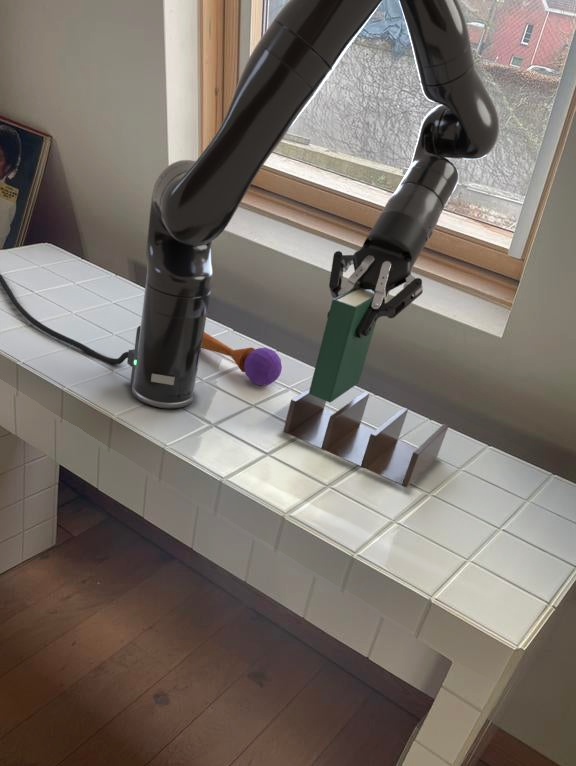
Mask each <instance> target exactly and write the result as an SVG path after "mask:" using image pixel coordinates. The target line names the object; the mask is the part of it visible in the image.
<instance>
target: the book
mask: <svg viewBox="0 0 576 766" xmlns="http://www.w3.org/2000/svg"><path fill="white" fill-rule="evenodd" d="M359 288H360V289H353V290H351V291H348V292H346V293H344V294H342V295H340V296H338V297H336V298H332V300H331V304H330V308H329V310H330V312H329V311H328V312H329V316H328V318H326V319H327V320H326V322H325V323H326V324H325V328H324V332H323V336H322V338H321V339H322V340H321V343H320V348H319V351H318V355H317V358H316V364H315V367H314V371H313V375H312V378H311V383H310V387H309V388H310V390H309V394H311V395H313V396H315V397H318V398H320V399H323V400H325V401H326V403H332V402H333V401H335V400H337V399H338V398H339V397H341V396H342V395H344V394H345V393H347V392H348V391H349V390H351V389H352V388H354V387H355V386H357V385H359V382H360V379H361V375H362V372H363V369H364V364H365V361H366V358H367V356H368V352H369V348H370V346H371V345H370V344H371V341H372V338H373V335H374V332H375V328H376V324H377V322H376V323H375V324H374V326H373V328H372V330H371V331H370V333H369V334H368V335H367V336H363V338H362V339H360V338H357V337H356V333H355V331H356V328H357V326H358V325H359V323H360V321H361V319H362V318H363V316H364V314H365V312H366V311H367V309H368V308H371V305H372V301H373V298H374V295H375V292H373V291H372V290H367V289H363V288H361V287H360V286H359Z"/></svg>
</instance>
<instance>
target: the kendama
mask: <svg viewBox="0 0 576 766" xmlns="http://www.w3.org/2000/svg"><path fill="white" fill-rule="evenodd" d="M201 349H203V350H204V349H205V350H207V351H211V352H215V353H218V354H222V355H225V356H229V357H231V359H232V360H233V361H234V363H235V364H236V366H237V367H238V369H239V370H240V372H242V373H244V374H245V376H246V377H247V378H248V379H249V381H250V382H251V383H253V384H255V385H258V386H269V385H272V384H273V383H275V382H276V381H277V380H278V379H279V377H280V376H281V373H282V369H283V367H282V366H283V365H282V359H281V358H280V356H279V355H278V353H277V352H276V351H275V350H273V349H270V348H267V347H257V348H254V347H245V348H239V349H233V348H232V347H230V346H228V345H226V344H225V343H223V342H221V341H220V340H218V339H217V338H215V337H213V336H212V335H210V334H209V333H207V332H205V331H204V334H203V340H202V346H201Z"/></svg>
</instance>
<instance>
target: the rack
mask: <svg viewBox="0 0 576 766" xmlns="http://www.w3.org/2000/svg"><path fill="white" fill-rule="evenodd" d="M309 390H310V387H309V388H307V389H306V390H304V391H303V392H301V393H300V394H298V395H297V396H295V397H293V398H292V399H291V400H290V403H289V407H288V411H287V416H286V419H285V422H284V428H283V433H285V434H288V435H290V436H292V437H294V438H296V439H298V440H301V441H303V442H305V443H308V444H310V445H312V446H314V447H316V448H319V449H321V450H323V451H325V452H328V453H330V454H332V455H334V456H336V457H339V458H341V459H343V460H345V461H347V462H350V463H352V464H354V465H356V466H358V467H360V468H363V469H365V470H368V471H370V472H371V473H374V474H376V475H378V476H380V477H382V478H385V479H388V480H390V481H392V482H394V483H396V484H398V485H400V486H403V487H405V488H408V487H409V486H410V485H411V484H412V483H413V482H414V480H416V479H417V478H418V477H419V476H420V475H422V473H423V472H424V471H425V470H426V469H427V468H428V467H429V466H430V465H431V463H433V462H434V460H436V459H437V457H438V456H439V453H440V450H441V448H442V445H443V442H444V439H445V437H446V434H447V432H448V429H449V425H448V424H445V423H443V424H442V425H441V426H439V427H438V429H436V430H435V431H434V432H433V433H432V434H431V435H430V436H429V437H428V438H426V440H425V441H424V442H423V443H422V444H421V445H420V446H418V447H416V446H413V445H411V444H409V443H406V442H404V441H401V440H400V439H399V437H400V435H401V432H402V429H403V426H404V423H405V421H406V418H407V414H408V412H409V408H406V407H402V408H401V409H400V410H399V411H397V412H396V413H395V414H393V415H392V416H391V417H389V419H387V420H386V421H385V422H384V423H382V424H381V425H380V426H379V427H377V428H376V429H374V428H371V427H369V426H366V425H365V424H362V421H363V416H364V414H365V411H366V407H367V404H368V401H369V398H370V392H367V391H364V392H362V393H361V394H360V395H358V396H357V397H355V398H354V399H352V400H350V401H349V402H348V403H347V404H345V405H343V407H341V408H339V410H337V411H335V412H334V411H331V410H329V409H327V408H326V403H327V401H325V400H323V399H320V398H318V397H315V396H313V395H311V394H309Z"/></svg>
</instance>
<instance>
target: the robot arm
mask: <svg viewBox="0 0 576 766" xmlns="http://www.w3.org/2000/svg"><path fill="white" fill-rule="evenodd" d="M382 2H383V0H288V1H287V2H286V3H285V5H284V6H282V8H281V9H280V10H279V12H278V13H277V14H276V16H275V17H274V19H273V21H272V22H271V23H270V24H269V26H268V27H267V29H266V30H265V31H264V34H263V35H262V37H260V39H259V41H258V42H257V43H256V45H255V47H254V48H253V50H252V52H251V54H250V56H249V58H248V59H247V61H246V63H245V64H244V67H243V70H242V72H241V74H240V77H239V79H238V81H237V84H236V87H235V89H234V92H233V95H232V97H231V99H230V100H231V101H230V104H229V106H228V108H227V111H226V114H225V116H224V118H223V120H222V123H221V125H220V126H219V128H218V130H217V131H216V133H215V135H214V136H213V138H212V140H211V141H210V142H209V144H208V145H206V147H205V149H204V150H203V151H202V153H201V154H200V155H199V157H198V158H197V159H196V160H192V159H181V160H178V161H175V162H172V163H171V164H169V165H167V167H164V169H163V170H162V171H161V173H160V174H159V175H158V177H157V179H156V181H155V183H154V186H153V191H152V194H151V201H150V210H149V218H148V229H147V238H146V239H147V240H146V251H145V253H146V277H145V278H146V279H145V285H144V286H145V287H144V294H143V303H142V309H141V319H140V325H138V326H137V328H136V333H135V341H134V349H128V351H124V352H123V353H122V354H121V355H120V356H119V357H118V358H113V357H109V356H105V355H103V354H101V353H99V352H98V351H95V350H93V349H92V348H90V347H89V346H87V345H85V344H83V343H81V342H79V341H77V340H75V339H73V338H70V337H68V336H66V335H64V334H62V333H60V332H58V331H55V330H53V329H52V328H50V327H48V326H47V325H45V324H43V323H41V322H40V321H39V320H37V319H36V318H35V317H33V316H32V315H31V314H30V313H29V312H27V311H26V309H24V308H23V307H24V306H22V305H21V304H20V303H19V302H18V300H17V298H16V297H15V294H14V293H13V291H12V289H11V288H10V287H9V285H8V283H7V281H6V280H5V278H4V277H3V276H2V274H1V273H0V284H1V286H2V288H3V289H4V291H5V293H6V294H7V296H8V298H9V300H10V301H11V304H12V305H13V306H14V308H15V309H16V310H17V311H18V312H19V313H20V315H22V316H23V317H24V318H25V319H26V320H27V321H28V322H29V323H30V324H32V325H33V326H35V328H38V329H39V330H41V331H42V332H44V333H46V334H48V335H50V336H51V337H53V338H56V339H57V340H59V341H62V342H64V343H66V344H68V345H70V346H72V347H75V348H77V349H79V350H81V351H83V352H84V353H86V354H87V355H89V356H91V357H93V358H95V359H98V360H100V361H102V362H105V363H108V364H111V365H120V364H122V363H124V361H125V360H127V361H126V363H127V364H128V365H129V366H130V367H131V375H130V384H129V385H130V386H131V393H132V395H133V396H134V397H135V399H136V400H138V401H140V402H142V403H144V404H145V405H148V406H151V407H154V408H161V409H169V410H170V409H171V410H173V409H181V408H184V407H187V406H189V405H190V404H191V403H192V402H193V400H194V396H195V387H196V380H197V374H198V369H199V362H200V358H201V357H200V356H201V352H202V348H201V346H202V340H203V334H204V332H205V328H206V322H207V316H208V309H209V305H210V297H211V292H212V286H213V279H214V267H213V262H212V261H213V259H212V243H213V241H214V240H216V239H217V238H218V237H219V236H220V235H221V234H222V233H223V232H224V230H225V229H226V228H227V227H228V225H229V224H230V222H231V220H232V219H233V217H234V215H235V213H236V212H237V210H238V208H239V206H240V204H241V203H242V201H243V199H244V198H245V196H246V194H247V192H248V190H249V189H250V187H251V185H252V184H253V182H254V180H255V179H256V177H257V175H258V174H259V172H260V170H262V167H263V166H264V165H265V163H266V162H267V160H268V159H269V157H270V156H271V155H272V153H273V152H274V151H275V150H276V149H277V147H278V146H279V144H280V143H281V142H282V140H283V139H284V138H285V137H286V135H287V134H288V132H289V131H290V129H291V128H292V127H293V125H294V124H295V123H296V121H297V119H298V118H299V117H300V116H301V114H302V113H303V111H304V110H305V109H306V107H307V106H308V105H309V104H310V102H311V101H312V100H313V99H314V97H315V96H316V94H317V93H318V92H319V90H320V89H321V87H322V86H323V84H324V83H325V82H326V81H327V79H328V78H329V76H330V75H331V74H332V72H333V71H334V70H335V68H336V66H337V65H338V63H339V62H340V60H341V59H342V57H343V56H344V54H345V53H346V51H347V50H348V48H349V47H350V46H351V45H352V43H353V42H354V40H355V39H356V38H357V36H358V35H359V34H360V32H361V31H362V30H363V28H364V27H365V26H366V24H367V23H368V22H369V20H370V19H371V17H372V16H373V14H374V13H375V12H376V11H377V9H378V8H379V6H380V5H381V3H382ZM398 2H399V6H400V8H401V12H402V15H403V18H404V22H405V25H406V29H407V32H408V36H409V40H410V44H411V48H412V53H413V57H414V62H415V66H416V70H417V74H418V78H419V82H420V87H421V90H422V94H423V95H424V97H425V98H426V99H427V100H428V101H430V102H433V103H435V104H439V105H437V106H435V107H434V108H432V109H431V110H430V111H428V113H427V114H426V115H425V117H424V118H423V120H422V122H421V125H420V127H419V132H418V137H417V141H416V145H415V148H414V151H413V155H412V159H411V163H410V166H409V168H408V170H407V171H406V173H405V175H404V176H403V178H402V180H401V181H400V183H399V185H398V186H397V188H396V190H395V191H394V192H393V193H392V195H391V196H390V197H389V199H388V200H387V202H386V204H385V205H384V208H383V209H382V211H381V212H380V214H379V216H378V217H377V219H376V221H375V223H374V224H373V226H372V228H371V229H370V231H369V233H368V235H367V236H366V237H365V239H364V242H363V245H362V246H361V247H360V248H359V249H358V250H356V251H355V252H354V253H353V254H343V253H342V251H341V250H338V251H335V252H334V253H333V258H332V263H331V269H330V270H331V271H330V276H329V282H328V283H329V284H328V287H329V291H330V295H331V297H332V299H334V298H336V297H338V296H340V295H342V294H344V293H346V292H348V291H351V290H353V289H360V288H359V286H360V287H361V288H363V289H367V290H372V291H373V292H375V295H374V298H373V301H372V305H371V308H368V309H367V311H366V312H365V314H364V316H363V318H362V319H361V321H360V323H359V325H358V326H357V328H356V331H355V333H356V337H357V338H360V339H362V338H363V336H367V335H368V334H369V333H370V331H371V330H372V328H373V326H374V324H375V323H376V324H377V321H378V320H379V318H381V317H387V318H388V319H394V318H395V317H397V316H398V315H399V314H400V313H401V312H403V311H404V310H405V309H407V307H409V305H410V304H412V303H413V302H414V301H415V300H416V299H418V298H419V297H420V296H421V295H423V292H424V291H423V290H424V289H423V287H424V285H423V280H422V278H420V277H415V276H414V275H412V268H413V267H414V265H415V263H416V261H417V260H418V258H419V256H420V254H421V253H422V251H423V249H424V248H425V246H426V244H427V242H428V241H429V240H430V239H431V238H432V235H433V233H434V230H435V228H436V226H437V224H438V222H439V219H440V217H441V214H442V212H443V211H444V210H445V208H446V206H447V204H448V202H449V200H450V198H451V196H453V193H454V192H455V190H456V188H457V185H458V183H459V178H460V177H459V171H458V169H457V167H456V166H455V164H454V163H453V162H452V161H450V160H449V159H457V160H458V159H459V160H479V159H482V158H484V157H486V156H487V155H488V154H490V153H491V152H492V150H493V149H494V148H495V146H496V144H497V142H498V139H499V133H500V120H499V119H500V118H499V115H498V112H497V108H496V106H495V104H494V102H493V99H492V98H491V96H490V93H489V91H488V90H487V88H486V86H485V84H484V82H483V79H482V78H481V76H480V75H479V73H478V72H477V69H476V66H475V61H474V55H473V54H474V53H473V49H472V42H471V38H470V33H469V28H468V25H467V21H466V17H465V15H464V12H463V10H462V7H461V5H460V2H459V0H398ZM352 265H353V269H354V272H352V274H351V275H350V276H349V277H348V279H347V282H345V284H344V285H343V286H342V283H343V278H344V277H343V276H344V273H346V272H347V271H348V270H349V268H350V266H352ZM402 285H403V288H402V289H401V290H400V291H399V292H397V294H395V295H394V296H393V297H392V298H391V299H390V300H388V298H389V295H390V292H391V291H392V290H394V289H396V288H398V287H399V286H402ZM329 312H330V309H329V311H327V314H326V315H327V316H326V319H328V316H329ZM376 324H375V325H376Z"/></svg>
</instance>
